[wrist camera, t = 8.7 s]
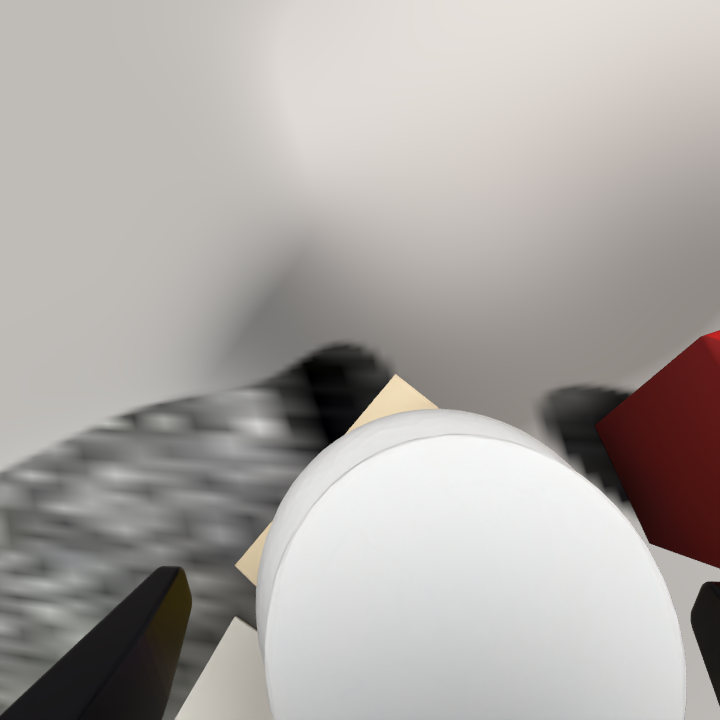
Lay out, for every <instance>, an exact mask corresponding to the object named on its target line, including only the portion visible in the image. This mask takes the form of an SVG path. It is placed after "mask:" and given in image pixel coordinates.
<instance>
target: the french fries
mask: <svg viewBox="0 0 720 720" xmlns="http://www.w3.org/2000/svg"><path fill="white" fill-rule="evenodd" d="M595 427H596V430H597V432H598V434H599V436H600V438H601V440H602V442H603V445H604V447H605V449H606V451H607V453H608V455H609V457H610V460H611V462H612V464H613V466H614V468H615V470H616V472H617V475H618V477H619V479H620V481H621V483H622V485H623V488H624V490H625V492H626V494H627V496H628V498H629V500H630V503H631V505H632V507H633V509H634V511H635V513H636V515H637V518H638V520H639V522H640V524H641V526H642V528H643V530H644V533H645V535H646V537H647V539H648V541H649V543H650V544H653V545H655V546H658V547H661V548H664V549H666V550H669V551H673V552H675V553H678V554H680V555H684V556H686V557H689V558H692V559H695V560H697V561H700V562H703V563H706V564H709V565H712V566H714V567H717V568H720V330H719V331H716V332H713V333H710V334H707V335H704V336H701V337H700V338H699V339H698V340H696V341H695V342H694V343H693V344H691V345H690V346H689V347H688V348H687V349H685V350H684V351H683V352H682V353H681V354H679V355H678V356H677V357H676V358H675V359H674V360H672V361H671V362H670V363H669V364H667V366H665V367H664V368H663V369H662V370H660V371H659V372H658V373H657V374H656V375H654V376H653V377H652V378H651V379H650V380H648V381H647V382H646V383H645V384H644V385H642V386H641V387H640V388H639V389H638V390H636V391H635V392H634V393H633V394H632V395H630V396H629V397H628V398H627V399H626V400H625V401H623V402H622V403H621V404H620V405H619V406H617V407H616V408H615V409H614V410H613V411H611V412H610V413H609V414H608V415H607V416H605V417H604V418H603V419H602V420H601V421H599V422H598V423H597V424H596V425H595Z"/></svg>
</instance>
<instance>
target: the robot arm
mask: <svg viewBox="0 0 720 720" xmlns="http://www.w3.org/2000/svg"><path fill="white" fill-rule="evenodd" d="M191 607H192V596H191V592H190V588H189V585H188V581H187V578H186V574H185V571H184V569H183V568H182V567H178V566H162V567H159V568H158V569H156V570H155V571H154V572H153V573H152V574H151V575H150V576H149V577H147V578H146V579H145V580H144V581H143V582H142V583H141V584H140V585H139V586H138V587H137V588H136V589H135V590H134V591H133V592H131V593H130V594H129V595H128V596H127V597H126V598H125V599H124V600H123V601H122V602H121V603H120V604H119V605H118V606H116V607H115V608H114V609H113V610H112V611H111V612H110V613H109V614H108V615H107V616H106V617H105V618H104V619H103V620H102V621H100V622H99V623H98V624H97V625H96V626H95V627H94V628H93V629H92V630H91V631H90V632H89V633H88V634H87V635H86V636H84V637H83V638H82V639H81V640H80V641H79V642H78V643H77V644H76V645H75V646H74V647H73V648H72V649H71V650H70V651H68V652H67V653H66V654H65V655H64V656H63V657H62V658H61V659H60V660H59V661H58V662H57V663H56V664H55V665H54V666H52V667H51V668H50V669H49V670H48V671H47V672H46V673H45V674H44V675H43V676H42V677H41V678H40V679H39V680H38V681H36V682H35V683H34V684H33V685H32V686H31V687H30V688H29V689H28V690H27V691H26V692H25V693H24V694H23V695H22V696H20V697H19V698H18V699H17V700H16V701H15V702H14V703H13V704H12V705H11V706H10V707H9V708H8V709H7V710H5V711H4V712H3V713H2V714H1V715H0V720H162V717H163V714H164V711H165V708H166V705H167V702H168V699H169V696H170V692H171V688H172V684H173V680H174V676H175V672H176V668H177V664H178V660H179V656H180V652H181V648H182V644H183V640H184V636H185V632H186V628H187V624H188V620H189V616H190V612H191ZM691 624H692V628H693V631H694V634H695V637H696V640H697V643H698V646H699V648H700V651H701V654H702V657H703V660H704V663H705V666H706V668H707V671H708V674H709V677H710V680H711V683H712V685H713V688H714V691H715V694H716V697H717V700H718V703H719V705H720V582H706V583H704V584H703V585H702V587H701V589H700V591H699V594H698V596H697V599H696V601H695V604H694V606H693V608H692V611H691Z"/></svg>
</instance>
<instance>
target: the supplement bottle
mask: <svg viewBox="0 0 720 720" xmlns="http://www.w3.org/2000/svg"><path fill="white" fill-rule="evenodd" d="M256 622H257V632H258V640H259V646H260V650H261V655H262V659H263V663H264V667H265V675H266V686H267V693H268V698H269V703H270V708H271V714H272V717H273V720H684V717H685V709H686V680H687V678H686V677H687V675H686V674H687V671H686V663H685V652H684V645H683V640H682V635H681V631H680V626H679V622H678V618H677V615H676V611H675V608H674V604H673V601H672V599H671V596H670V593H669V590H668V587H667V584H666V582H665V580H664V578H663V576H662V574H661V572H660V570H659V568H658V566H657V564H656V562H655V560H654V558H653V556H652V555H651V553H650V551H649V549H648V547H647V546H646V544H645V543H644V541H643V540H642V538H641V537H640V535H639V534H638V532H637V531H636V529H635V528H634V527H633V525H632V524H631V523H630V521H629V520H628V519H627V518H626V517H625V516H624V514H623V513H622V512H621V511H620V510H619V509H618V507H617V506H616V505H615V504H614V503H613V502H612V501H611V500H610V499H609V498H608V497H606V496H605V495H604V494H603V493H602V492H601V491H600V490H599V489H598V488H597V487H596V486H595V485H593V484H592V483H591V482H590V481H588V480H587V479H586V478H585V477H583V476H582V475H581V474H579V473H578V472H576V471H575V470H574V469H573V468H572V467H571V466H570V465H569V464H568V463H567V462H566V461H565V460H563V459H562V458H561V457H560V456H559V455H558V454H556V453H555V452H554V451H553V450H552V449H550V448H549V447H547V446H546V445H544V444H543V443H542V442H540V441H539V440H537V439H535V438H534V437H532V436H530V435H529V434H527V433H525V432H524V431H521V430H520V429H518V428H515V427H513V426H511V425H509V424H507V423H504V422H502V421H499V420H496V419H493V418H490V417H487V416H484V415H480V414H476V413H471V412H465V411H460V410H450V409H421V410H413V411H406V412H401V413H396V414H392V415H389V416H385V417H382V418H378V419H376V420H373V421H371V422H369V423H366V424H364V425H362V426H360V427H358V428H356V429H354V430H352V431H350V432H349V433H347V434H345V435H344V436H342V437H341V438H339V439H337V440H336V441H335V442H333V443H332V444H331V445H329V446H328V447H327V448H325V449H324V450H323V451H322V452H321V453H320V454H318V455H317V456H316V457H315V458H314V459H313V460H312V461H311V462H310V464H309V465H308V466H307V467H306V468H305V469H304V470H303V471H302V472H301V474H300V475H299V476H298V477H297V479H296V480H295V481H294V483H293V484H292V485H291V487H290V489H289V490H288V492H287V493H286V495H285V497H284V498H283V500H282V502H281V504H280V506H279V507H278V510H277V512H276V514H275V517H274V519H273V522H272V524H271V527H270V530H269V532H268V535H267V537H266V540H265V544H264V547H263V551H262V555H261V560H260V565H259V569H258V578H257V587H256Z"/></svg>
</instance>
